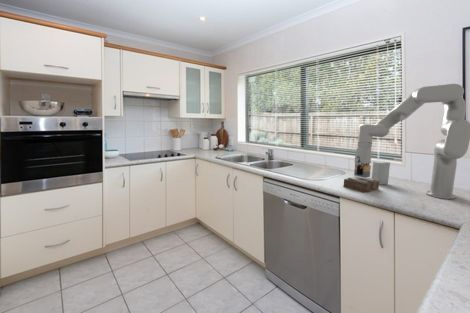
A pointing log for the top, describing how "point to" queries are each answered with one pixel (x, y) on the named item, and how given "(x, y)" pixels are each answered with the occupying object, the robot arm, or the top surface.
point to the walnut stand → (361, 184)
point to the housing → (363, 171)
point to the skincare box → (381, 171)
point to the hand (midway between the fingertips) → (362, 174)
